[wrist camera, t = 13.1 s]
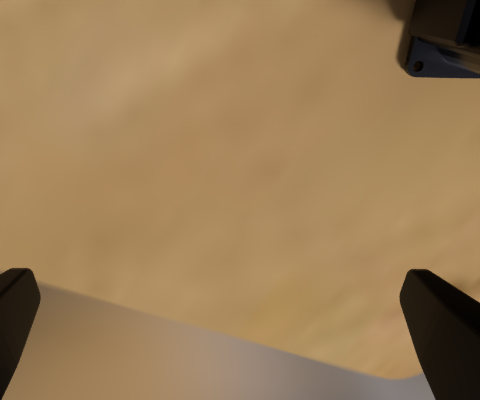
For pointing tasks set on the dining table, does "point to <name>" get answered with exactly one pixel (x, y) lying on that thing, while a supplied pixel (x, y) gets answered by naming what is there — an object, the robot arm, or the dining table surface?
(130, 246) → the dining table surface
